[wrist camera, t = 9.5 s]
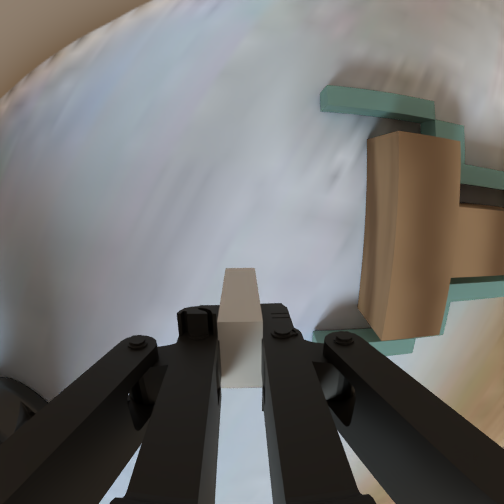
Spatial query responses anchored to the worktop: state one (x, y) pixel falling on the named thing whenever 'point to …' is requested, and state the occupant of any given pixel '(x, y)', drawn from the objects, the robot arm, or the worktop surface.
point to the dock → (424, 113)
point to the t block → (420, 234)
